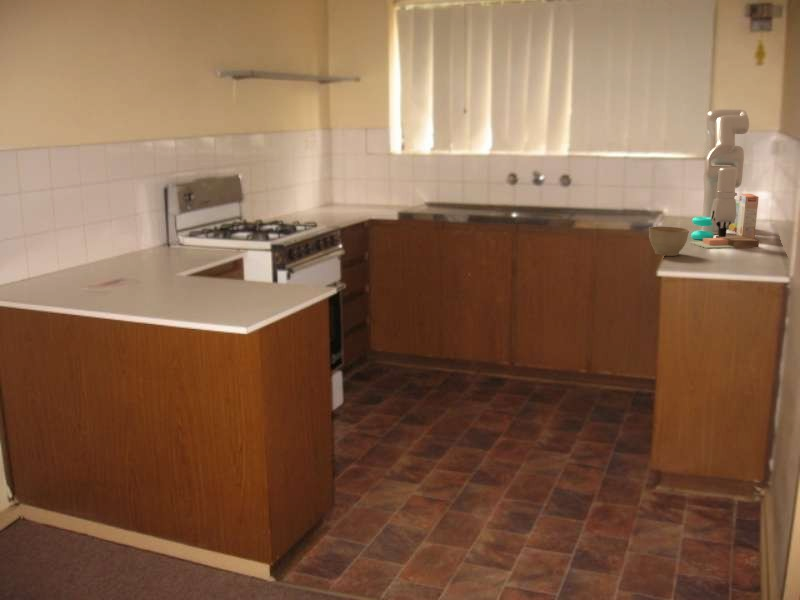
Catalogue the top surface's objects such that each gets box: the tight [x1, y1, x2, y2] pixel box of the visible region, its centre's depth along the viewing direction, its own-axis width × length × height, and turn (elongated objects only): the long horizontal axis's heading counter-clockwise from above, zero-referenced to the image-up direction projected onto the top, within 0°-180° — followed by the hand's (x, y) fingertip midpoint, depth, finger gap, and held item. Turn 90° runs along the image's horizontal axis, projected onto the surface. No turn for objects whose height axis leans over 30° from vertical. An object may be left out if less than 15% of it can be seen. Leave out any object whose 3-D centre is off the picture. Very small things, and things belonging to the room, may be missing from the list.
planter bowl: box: [648, 226, 690, 257], centre depth 353 cm, size 16×16×11 cm
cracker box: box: [735, 193, 760, 240], centre depth 392 cm, size 14×6×21 cm, turn 168°
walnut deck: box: [715, 234, 760, 249], centre depth 378 cm, size 17×11×3 cm, turn 9°
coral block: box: [702, 237, 729, 245], centre depth 377 cm, size 6×9×2 cm, turn 99°
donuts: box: [690, 216, 714, 241], centre depth 395 cm, size 10×10×10 cm
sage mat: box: [689, 240, 736, 250], centre depth 377 cm, size 16×13×1 cm
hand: (721, 236), depth 377 cm, fingers closed
